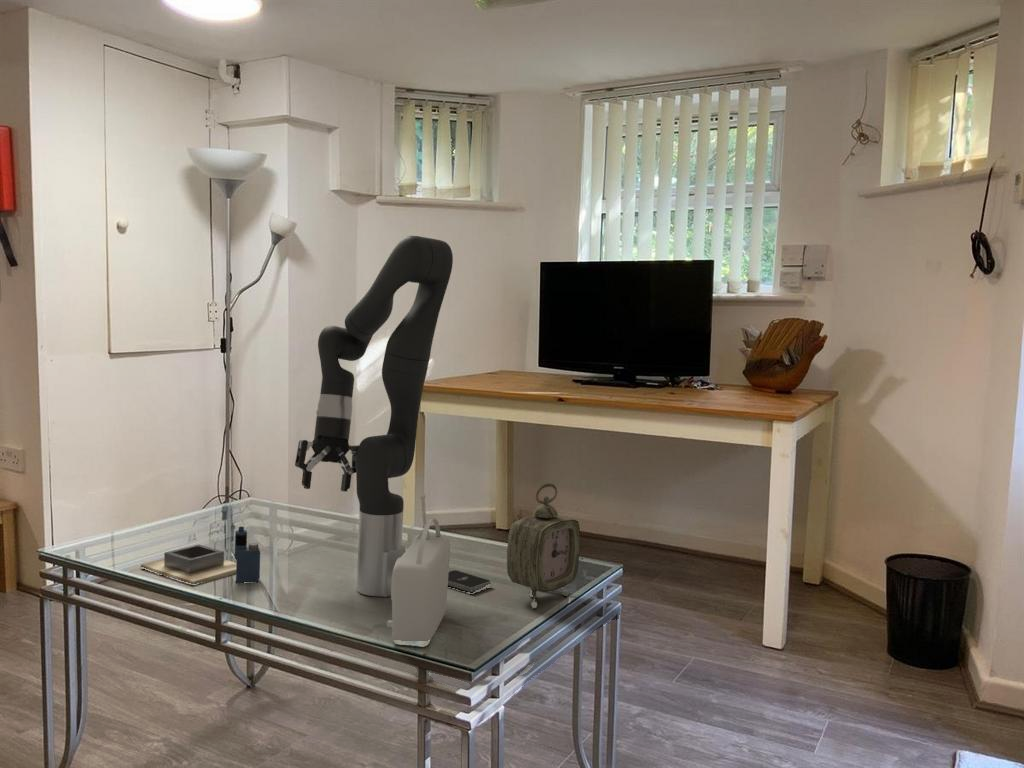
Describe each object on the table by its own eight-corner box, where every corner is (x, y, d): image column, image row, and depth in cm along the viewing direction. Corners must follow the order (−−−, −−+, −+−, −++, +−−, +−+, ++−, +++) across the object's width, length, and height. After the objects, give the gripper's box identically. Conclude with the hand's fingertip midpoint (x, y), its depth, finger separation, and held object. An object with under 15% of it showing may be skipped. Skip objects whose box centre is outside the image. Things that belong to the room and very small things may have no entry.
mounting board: (246, 570, 178) (246, 566, 178) (192, 586, 167) (192, 581, 167) (195, 555, 188) (195, 550, 188) (140, 568, 176) (140, 564, 176)
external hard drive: (471, 597, 169) (471, 588, 169) (433, 585, 176) (433, 576, 176) (491, 589, 175) (492, 580, 175) (453, 578, 182) (454, 569, 181)
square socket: (223, 564, 179) (223, 551, 178) (189, 574, 171) (189, 560, 171) (198, 557, 183) (198, 544, 183) (164, 565, 176) (164, 552, 176)
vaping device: (233, 580, 171) (234, 525, 170) (259, 578, 173) (260, 524, 172) (233, 584, 169) (235, 528, 168) (259, 582, 171) (261, 527, 170)
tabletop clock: (534, 613, 160) (541, 491, 158) (501, 602, 166) (507, 483, 164) (577, 597, 171) (583, 482, 169) (544, 586, 177) (550, 476, 175)
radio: (408, 607, 160) (412, 485, 159) (448, 610, 160) (454, 487, 158) (380, 650, 139) (385, 509, 137) (426, 654, 138) (432, 513, 136)
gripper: (308, 412, 169) (299, 489, 167) (370, 420, 177) (362, 493, 175) (297, 413, 175) (288, 486, 174) (357, 420, 183) (349, 490, 181)
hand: (325, 490), depth 174 cm, fingers open, 8 cm apart
